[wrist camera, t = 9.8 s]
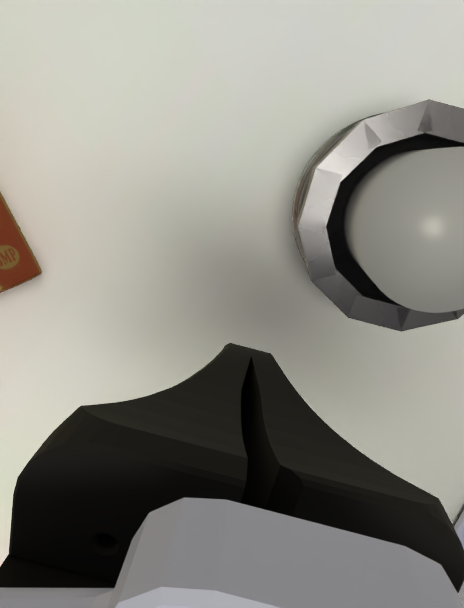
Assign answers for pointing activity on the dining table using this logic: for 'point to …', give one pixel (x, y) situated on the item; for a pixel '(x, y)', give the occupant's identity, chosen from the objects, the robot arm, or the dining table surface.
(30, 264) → the carton
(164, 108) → the dining table surface
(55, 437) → the robot arm
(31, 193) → the dining table surface
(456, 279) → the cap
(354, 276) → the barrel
